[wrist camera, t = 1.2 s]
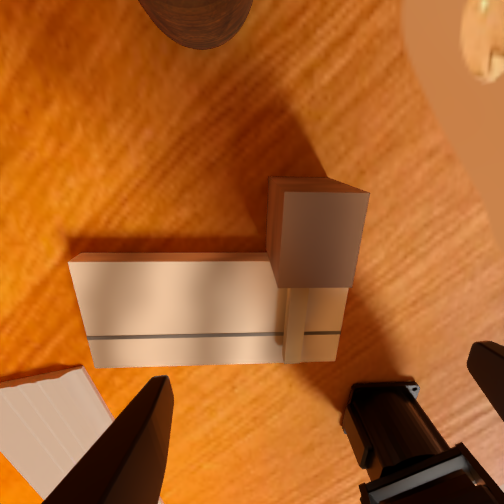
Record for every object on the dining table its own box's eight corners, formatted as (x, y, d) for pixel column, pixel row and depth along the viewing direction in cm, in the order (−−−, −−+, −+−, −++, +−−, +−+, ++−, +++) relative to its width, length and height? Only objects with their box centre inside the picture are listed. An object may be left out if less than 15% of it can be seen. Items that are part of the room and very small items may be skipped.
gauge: (327, 177, 18) (370, 193, 12) (307, 334, 23) (331, 395, 17) (268, 176, 18) (284, 191, 12) (261, 335, 23) (270, 398, 17)
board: (344, 252, 20) (353, 261, 18) (328, 347, 23) (335, 361, 22) (80, 252, 19) (67, 262, 17) (104, 353, 22) (94, 368, 21)
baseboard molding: (103, 356, 23) (-30, 382, 23) (85, 385, 20) (-64, 414, 21) (199, 535, 35) (110, 551, 35) (196, 568, 32) (100, 585, 32)
